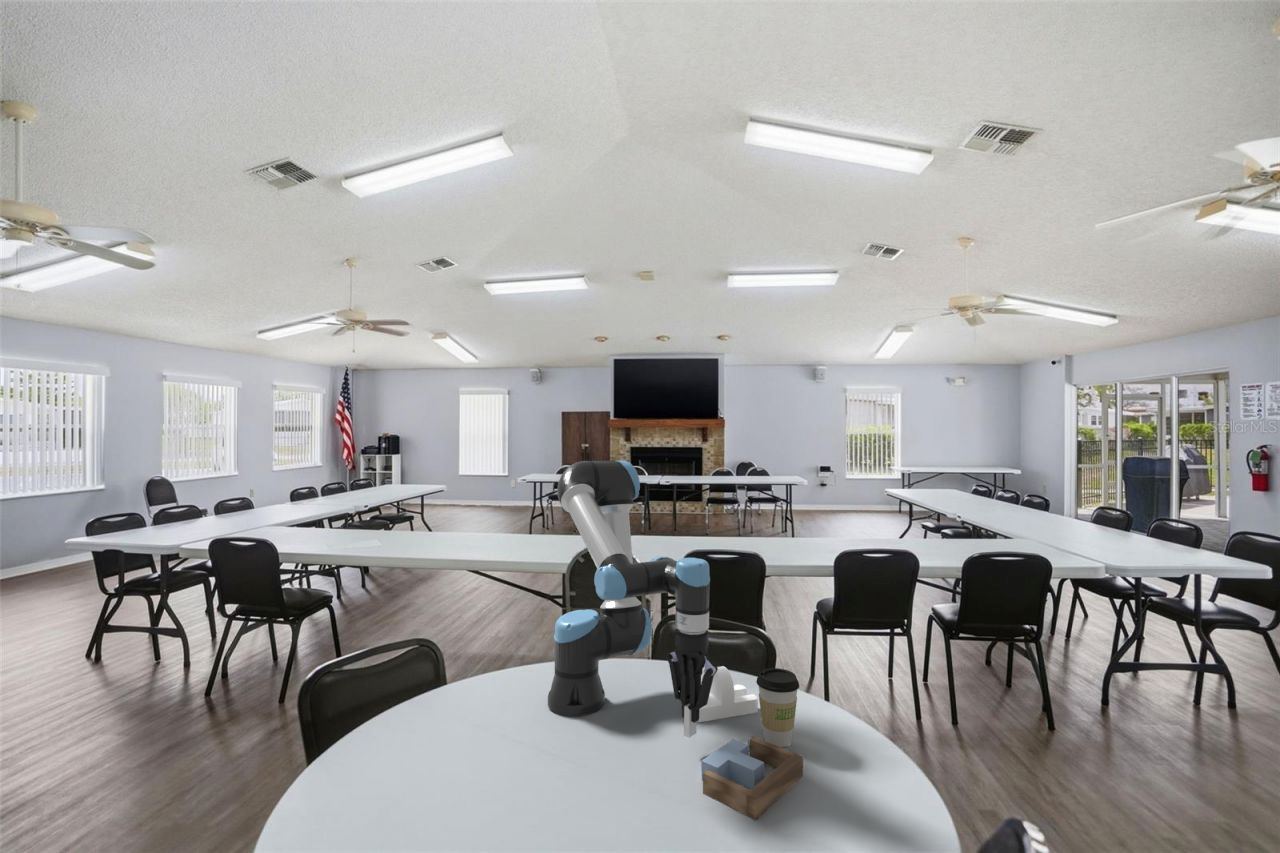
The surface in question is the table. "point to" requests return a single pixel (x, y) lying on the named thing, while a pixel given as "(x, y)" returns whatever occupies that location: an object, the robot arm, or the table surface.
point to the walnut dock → (763, 792)
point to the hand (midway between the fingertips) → (690, 734)
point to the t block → (735, 764)
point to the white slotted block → (727, 698)
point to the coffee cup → (777, 704)
